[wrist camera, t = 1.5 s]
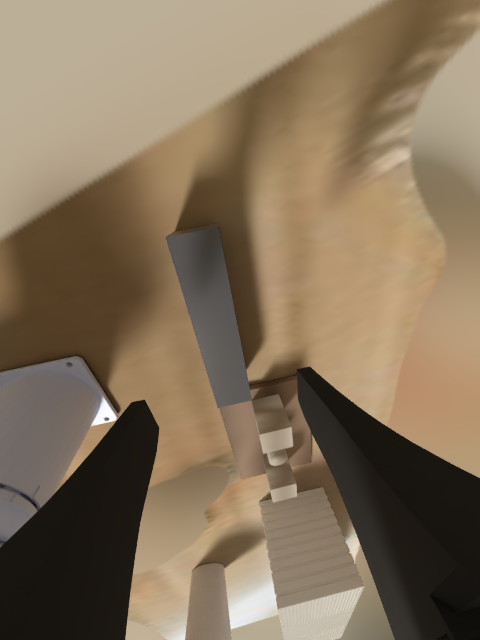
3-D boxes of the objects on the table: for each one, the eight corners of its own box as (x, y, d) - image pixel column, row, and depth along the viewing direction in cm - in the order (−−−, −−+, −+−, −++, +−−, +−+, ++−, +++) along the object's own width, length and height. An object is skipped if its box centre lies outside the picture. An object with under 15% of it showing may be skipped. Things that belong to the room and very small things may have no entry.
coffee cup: (177, 580, 44) (165, 736, 31) (193, 559, 41) (187, 726, 28) (220, 578, 47) (226, 721, 34) (238, 559, 44) (252, 710, 31)
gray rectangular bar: (216, 376, 22) (217, 408, 19) (175, 231, 16) (165, 237, 12) (244, 370, 22) (252, 400, 19) (216, 223, 16) (218, 227, 12)
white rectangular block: (315, 556, 50) (341, 637, 41) (271, 568, 50) (286, 653, 40) (322, 485, 35) (364, 586, 26) (258, 500, 35) (278, 609, 25)
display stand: (240, 474, 30) (246, 515, 26) (215, 393, 23) (218, 433, 19) (309, 457, 31) (325, 495, 27) (307, 372, 23) (328, 407, 19)
